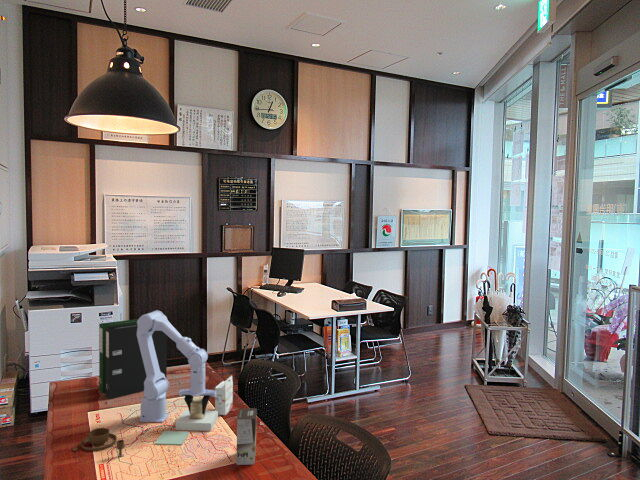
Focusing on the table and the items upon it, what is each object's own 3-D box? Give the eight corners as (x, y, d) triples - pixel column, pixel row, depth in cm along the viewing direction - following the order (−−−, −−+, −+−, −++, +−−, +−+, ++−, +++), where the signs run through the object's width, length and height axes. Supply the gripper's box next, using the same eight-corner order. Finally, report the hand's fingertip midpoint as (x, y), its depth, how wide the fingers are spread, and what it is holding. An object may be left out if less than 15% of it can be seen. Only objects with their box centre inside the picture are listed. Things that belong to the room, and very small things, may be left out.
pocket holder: (175, 429, 186) (175, 422, 186) (184, 416, 198) (184, 409, 198) (211, 430, 186) (211, 423, 186) (217, 417, 198) (218, 410, 198)
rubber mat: (154, 444, 174) (154, 443, 174) (163, 431, 184) (163, 430, 184) (181, 445, 174) (181, 444, 174) (189, 432, 184) (189, 431, 184)
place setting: (125, 433, 183) (125, 419, 183) (126, 458, 165) (126, 442, 165) (74, 441, 176) (74, 425, 176) (69, 468, 158) (69, 451, 158)
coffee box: (254, 464, 162) (255, 419, 161) (235, 465, 161) (236, 419, 161) (256, 451, 171) (257, 407, 170) (238, 451, 171) (239, 408, 170)
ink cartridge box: (222, 406, 210) (222, 373, 209) (232, 407, 209) (233, 374, 208) (214, 414, 202) (214, 380, 201) (225, 415, 201) (225, 381, 200)
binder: (155, 378, 243) (155, 316, 241) (167, 386, 232) (168, 322, 230) (99, 390, 225) (99, 323, 223) (109, 400, 214) (109, 329, 212)
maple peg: (190, 425, 190) (190, 403, 190) (193, 420, 195) (193, 398, 194) (201, 425, 190) (201, 403, 190) (204, 420, 195) (204, 399, 194)
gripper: (176, 383, 187) (176, 416, 188) (213, 384, 187) (213, 418, 188) (182, 377, 194) (181, 409, 195) (217, 378, 194) (217, 410, 195)
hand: (197, 413), depth 192 cm, fingers closed on maple peg, 4 cm apart
